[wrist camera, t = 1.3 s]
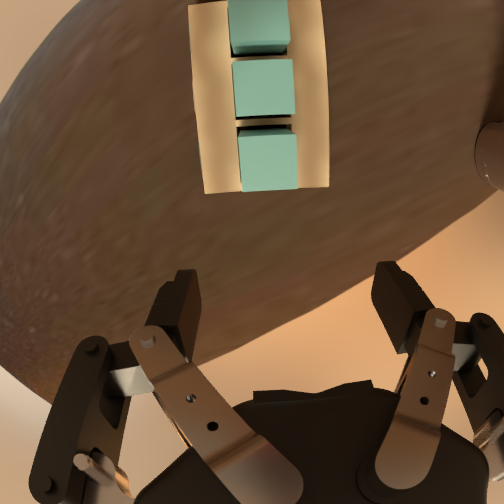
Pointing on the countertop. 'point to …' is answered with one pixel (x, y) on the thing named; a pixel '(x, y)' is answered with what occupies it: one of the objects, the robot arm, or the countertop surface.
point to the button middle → (263, 87)
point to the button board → (226, 123)
